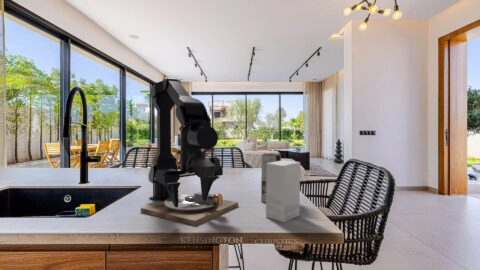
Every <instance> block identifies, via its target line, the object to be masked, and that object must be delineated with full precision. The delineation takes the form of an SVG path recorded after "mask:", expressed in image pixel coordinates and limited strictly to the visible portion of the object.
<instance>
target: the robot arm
mask: <svg viewBox="0 0 480 270" xmlns="http://www.w3.org/2000/svg"><path fill="white" fill-rule="evenodd" d="M149 93H150V98H151V103H152V105H153V107H154V108H155V110H156V131H157V132H156V133H157V134H156V135H157V136H156V140H157V141H156V143H157V146H156V149H157V152H156V153H155V155H154V157H153V159H152V165H151V166H150V169H149V172H148V182H150V183H151V184H152V196H150V197H149V200H154V201H158V202H163V201H165V200H166V199H167V198H169V197H170V198H171V200H172V202H173V204H174V206H175V207H176V208H177V207H178V195H179V187H180V186H181V182H180V181H179V180H180V179H181V178H186V177H194V176H197V177H198V178H199V180H200V189H201V190H200V191H201V192H200V193H202V199H203V201H206V200H207V197H208V194H210V191H211V187H212V186H213V184H214V182H215V181H216V180H218V179H220V176H224V174H223V173H224V168H223V167H222V165H221V159H220V158H219V157H218V156H214V157H210V158H207V157H206V152H205V150H207V151H208V150H211V149H213V148H215V146H216V145H217V143H218V141H219V135H218V132H217V131H216V129H215V128H214V127H212V122H211V121H212V119H211V118H210V115H209V113H208V110H207V107H206V105H205V104H204V103H203V102H202V101H201V100H199V99H198V98H195V97H192V96H191V95H190V94H189V92H188V91H187V90H186V88H185V87H184V86H183V85H182V81H181V80H180V79H178V78H175V77H174V78H172V77H165V78H162V80H161V81H157V82H155V83H154V84H153V85H152V86H151V88H150V92H149ZM174 106H176V107H175V112H174V113H175V116H176V119H177V121H178V122H179V124H180V126H179V129H178V130H179V131H180V132H179V133H180V135H179V137H180V142H179V143H180V144H179V145H180V146H179V147H180V150H177V155H180V157H179V158H180V160H179V161H180V164H179V165H177V158H176V157H175V156H174V155H173V153H172V116H171V115H172V110H173V108H174Z"/></svg>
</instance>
